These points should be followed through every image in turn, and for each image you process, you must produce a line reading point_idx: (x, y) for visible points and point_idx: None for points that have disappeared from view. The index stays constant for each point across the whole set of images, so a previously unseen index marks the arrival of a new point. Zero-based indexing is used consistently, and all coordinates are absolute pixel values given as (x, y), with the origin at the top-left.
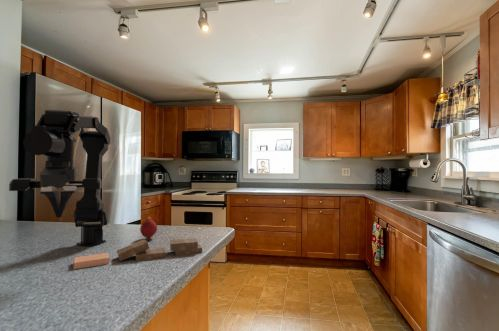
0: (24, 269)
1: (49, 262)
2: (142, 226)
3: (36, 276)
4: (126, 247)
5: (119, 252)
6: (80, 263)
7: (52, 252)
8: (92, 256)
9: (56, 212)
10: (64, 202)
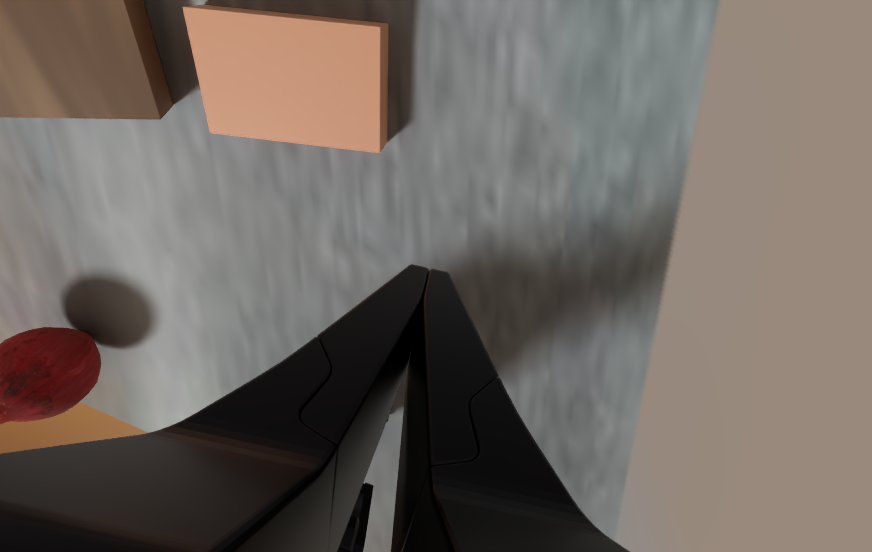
0: (602, 189)
1: (495, 232)
2: (54, 381)
3: (569, 11)
4: (82, 89)
5: (118, 32)
6: (347, 23)
7: None
8: (288, 107)
9: (443, 297)
10: (295, 362)
